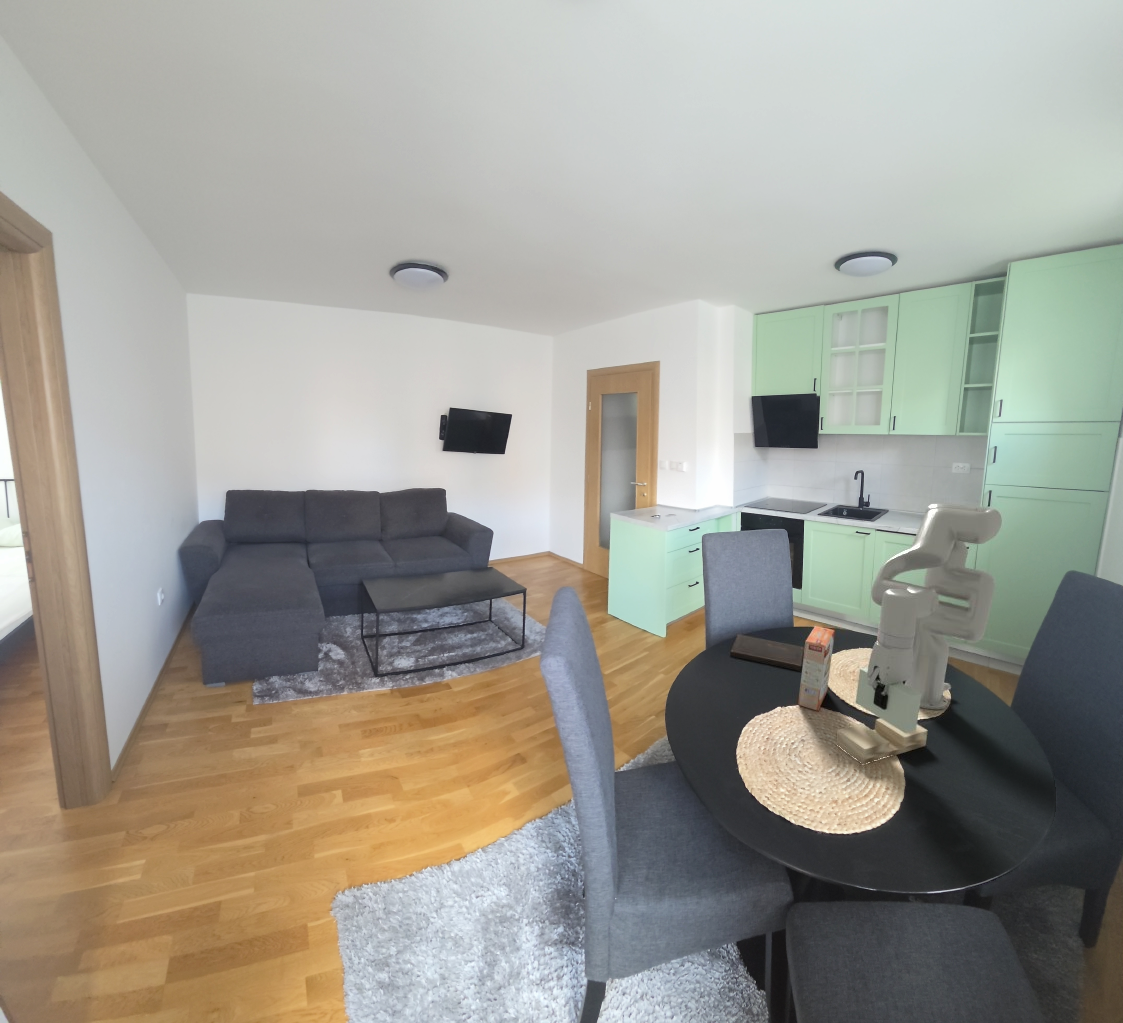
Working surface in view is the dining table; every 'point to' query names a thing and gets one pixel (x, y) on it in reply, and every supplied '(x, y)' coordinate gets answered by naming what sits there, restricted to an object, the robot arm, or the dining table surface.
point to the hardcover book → (768, 652)
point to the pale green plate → (891, 703)
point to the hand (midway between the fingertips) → (885, 704)
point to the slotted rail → (879, 741)
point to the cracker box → (816, 667)
